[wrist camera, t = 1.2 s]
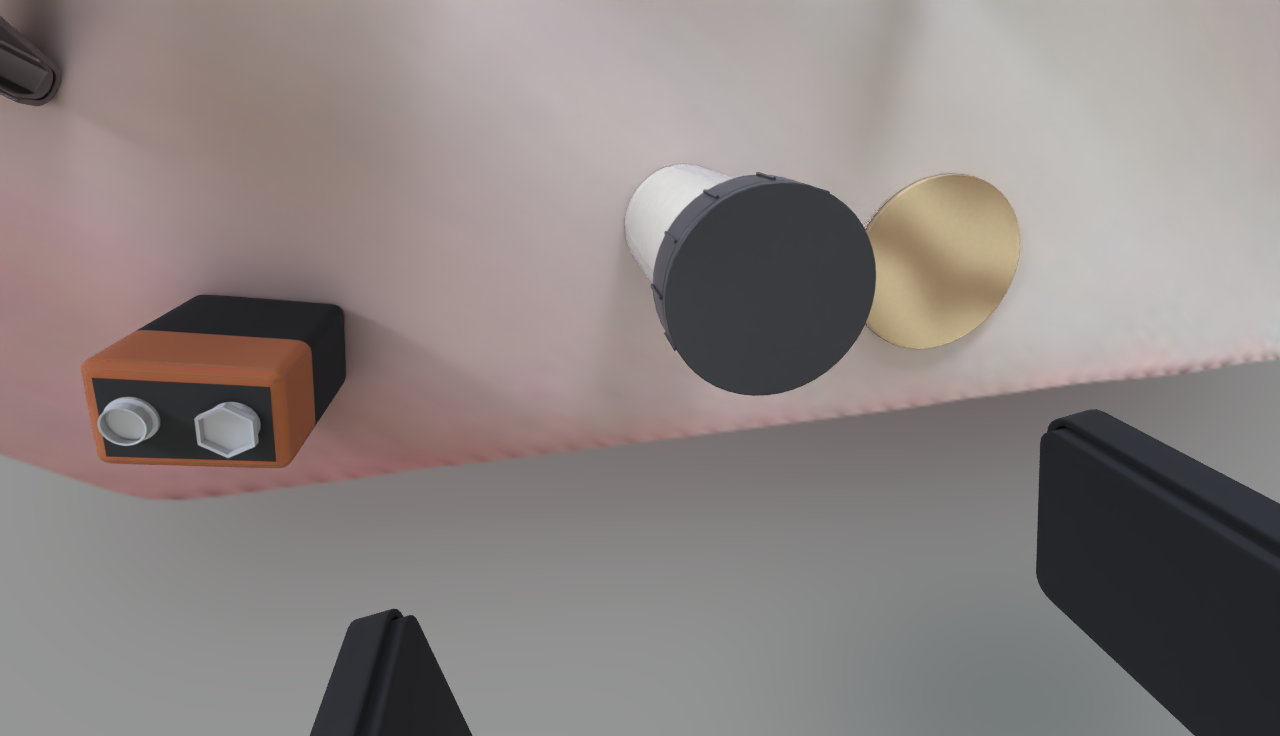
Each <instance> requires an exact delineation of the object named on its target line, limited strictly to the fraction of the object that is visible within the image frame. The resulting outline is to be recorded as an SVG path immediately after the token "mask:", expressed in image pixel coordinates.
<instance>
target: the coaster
mask: <svg viewBox="0 0 1280 736" xmlns="http://www.w3.org/2000/svg"><path fill="white" fill-rule="evenodd" d="M866 233H867V234H868V237H869V239H870V242H871V245H872V248H873V252H874V257H875V263H876V288H875V294H874V299H873V304H872V307H871V310H870V313H869V316H868V319H867V321H866V324H867V325H868V327H869V328H870V329H871V330H872V331H873V332H874V333H876V334H877V335H878V336H880V337H881V338H883V339H884V340H886V341H888V342H890V343H892V344H894V345H897V346H901V347H904V348H912V349H926V348H933V347H938V346H942V345H945V344H948V343H950V342H953V341H955V340H957V339H959V338H961V337H963V336H965V335H966V334H968V333H969V332H971V331H972V330H974V329H975V328H976V327H977V326H979V325H980V324H981V323H982V322H983V321H984V320H985V319H986V318H987V317H988V316H989V315H990V314H991V313H992V312H993V311H994V309H995V308H996V307H997V306H998V304H999V303H1000V302H1001V300H1002V298H1003V297H1004V295H1005V294H1006V292H1007V290H1008V288H1009V286H1010V284H1011V282H1012V279H1013V277H1014V274H1015V271H1016V267H1017V264H1018V258H1019V252H1020V234H1019V227H1018V222H1017V218H1016V216H1015V213H1014V211H1013V208H1012V207H1011V205H1010V203H1009V202H1008V200H1007V199H1006V198H1005V197H1004V195H1003V194H1002V193H1001V192H1000V191H999V190H998V189H996V188H995V187H994V186H993V185H991V184H989V183H988V182H986V181H984V180H981V179H979V178H976V177H972V176H967V175H962V174H944V175H937V176H933V177H929V178H926V179H923V180H921V181H918V182H916V183H914V184H912V185H910V186H909V187H907V188H905V189H903V190H902V191H901V192H899V193H898V194H896V195H895V196H894V197H893V198H892V199H890V200H889V201H888V202H887V203H886V204H885V205H884V206H883V207H882V208H881V209H880V211H879V212H878V213H877V214H876V215H875V217H874V218H873V219H872V221H871V222H870V224H869V225H868V227H867V229H866Z"/></svg>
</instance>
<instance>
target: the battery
mask: <svg viewBox="0 0 1280 736" xmlns="http://www.w3.org/2000/svg"><path fill="white" fill-rule="evenodd" d="M81 372H82V378H83V383H84V388H85V393H86V398H87V403H88V408H89V414H90V419H91V424H92V429H93V434H94V439H95V444H96V449H97V454H98V457H99V458H100V459H101V460H102V461H104V462H108V463H118V464H148V465H183V466H217V467H252V468H283V467H285V466H287V465H288V464H290V463H291V461H292V460H293V459H294V457H295V456H296V454H297V453H298V451H299V450H300V448H301V446H302V445H303V443H304V442H305V440H306V439H307V437H308V436H309V434H310V433H311V431H312V430H313V428H314V427H315V425H316V424H317V422H318V421H319V419H320V418H321V416H322V415H323V413H324V412H325V410H326V408H327V407H328V405H329V404H330V402H331V401H332V399H333V398H334V396H335V395H336V393H337V392H338V390H339V389H340V387H341V386H342V384H343V383H344V381H345V378H346V371H345V342H344V316H343V311H342V309H341V308H340V307H338V306H336V305H331V304H320V303H307V302H294V301H281V300H268V299H255V298H242V297H229V296H215V295H198V296H196V297H194V298H192V299H190V300H189V301H187V302H185V303H183V304H182V305H180V306H178V307H176V308H175V309H173V310H171V311H170V312H168V313H166V314H164V315H163V316H161V317H159V318H158V319H156V320H154V321H152V322H151V323H149V324H147V325H145V326H144V327H142V328H140V329H139V330H137V331H135V332H133V333H132V334H130V335H128V336H127V337H125V338H123V339H121V340H120V341H118V342H116V343H115V344H113V345H111V346H109V347H108V348H106V349H104V350H102V351H101V352H99V353H97V354H96V355H94V356H92V357H90V358H89V359H87V360H86V361H85V362H84V363H83V364H82V366H81Z"/></svg>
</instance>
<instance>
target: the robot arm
mask: <svg viewBox="0 0 1280 736" xmlns="http://www.w3.org/2000/svg"><path fill="white" fill-rule="evenodd" d="M1038 501H1039V503H1038V531H1037V562H1036V574H1037V579H1038V582H1039V585H1040V587H1041V589H1042V590H1043V592H1044V593H1045V595H1046V596H1047V597H1048V598H1049V599H1050V600H1051V601H1052V602H1053V603H1054V604H1055V605H1056V606H1057V607H1058V608H1059V609H1060V610H1062V612H1064V613H1065V614H1066V615H1067V616H1068V617H1069V618H1070V619H1071V620H1072V621H1073V622H1074V623H1075V624H1077V626H1079V627H1080V628H1081V629H1082V630H1083V631H1084V632H1085V633H1086V634H1087V635H1088V636H1089V637H1090V638H1091V639H1093V641H1094V642H1096V643H1097V644H1098V645H1099V646H1100V647H1101V648H1102V649H1103V650H1104V651H1105V652H1106V653H1107V654H1108V655H1109V656H1110V657H1112V658H1113V659H1114V660H1115V661H1116V662H1117V663H1118V664H1119V665H1120V666H1121V667H1122V668H1123V669H1124V670H1125V671H1127V673H1129V674H1130V675H1131V676H1132V677H1133V678H1134V679H1135V680H1136V681H1137V682H1138V683H1139V684H1140V685H1141V686H1142V687H1143V688H1144V689H1146V690H1147V691H1148V692H1149V693H1150V694H1151V695H1152V696H1153V697H1154V698H1155V699H1156V700H1157V701H1158V702H1159V703H1160V704H1162V705H1163V706H1164V707H1165V708H1166V709H1167V710H1168V711H1169V712H1170V713H1171V714H1172V715H1173V716H1174V717H1175V718H1176V719H1178V720H1179V721H1180V722H1181V723H1182V724H1183V725H1184V726H1185V727H1186V728H1187V729H1188V730H1189V731H1190V732H1191V733H1192V734H1193V735H1195V736H1280V504H1279V503H1277V502H1275V501H1273V500H1271V499H1269V498H1268V497H1266V496H1264V495H1262V494H1260V493H1258V492H1256V491H1254V490H1252V489H1250V488H1249V487H1246V486H1245V485H1243V484H1241V483H1239V482H1237V481H1235V480H1233V479H1231V478H1229V477H1227V476H1225V475H1224V474H1222V473H1220V472H1218V471H1216V470H1214V469H1212V468H1210V467H1208V466H1206V465H1204V464H1203V463H1201V462H1199V461H1196V460H1195V459H1193V458H1191V457H1189V456H1187V455H1185V454H1183V453H1181V452H1179V451H1178V450H1176V449H1174V448H1172V447H1170V446H1168V445H1166V444H1164V443H1162V442H1160V441H1159V440H1156V439H1155V438H1153V437H1151V436H1149V435H1147V434H1145V433H1143V432H1141V431H1139V430H1137V429H1136V428H1134V427H1132V426H1130V425H1128V424H1126V423H1124V422H1122V421H1120V420H1118V419H1116V418H1114V417H1113V416H1111V415H1109V414H1107V413H1105V412H1102V411H1100V410H1097V409H1096V410H1087V411H1083V412H1080V413H1076V414H1073V415H1069V416H1066V417H1063V418H1059V419H1056V420H1054V421H1052V422H1051V424H1050V425H1049V427H1048V431H1047V433H1045V434H1044V435H1043V436H1042V438H1041V443H1040V470H1039V500H1038ZM310 736H472V734H471V732H470V730H469V728H468V726H467V723H466V721H465V719H464V717H463V715H462V713H461V711H460V709H459V707H458V705H457V702H456V700H455V698H454V696H453V694H452V692H451V690H450V688H449V686H448V683H447V681H446V679H445V677H444V675H443V673H442V671H441V669H440V667H439V665H438V663H437V660H436V658H435V656H434V654H433V652H432V650H431V648H430V646H429V644H428V641H427V639H426V637H425V635H424V633H423V631H422V629H421V627H420V625H419V623H418V621H417V619H416V618H415V617H414V616H413V615H409V616H406V617H403V615H402V614H401V612H399V610H397V609H391V610H387V611H384V612H381V613H377V614H374V615H370V616H366V617H363V618H359V619H356V620H354V621H353V622H351V624H350V626H349V627H348V630H347V633H346V636H345V638H344V641H343V644H342V647H341V650H340V652H339V655H338V658H337V661H336V664H335V666H334V669H333V672H332V675H331V677H330V680H329V683H328V686H327V689H326V692H325V694H324V697H323V700H322V703H321V706H320V708H319V711H318V714H317V717H316V720H315V722H314V725H313V728H312V731H311V734H310Z"/></svg>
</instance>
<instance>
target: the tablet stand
mask: <svg viewBox="0 0 1280 736" xmlns="http://www.w3.org/2000/svg"><path fill="white" fill-rule="evenodd" d="M60 78H61V76H60V70H59V68H58V66H57V65H56V64H55V63H54V62H52V61H51V60H50V59H49V58H48V57H47V56H46V55H44V54H43V53H42V52H41V51H40V50H39V49H38V48H36V47H35V46H34V45H33V44H32V43H31V42H30V41H28V40H27V39H26V38H25V37H24V36H23V35H21V34H20V33H19V32H18V31H17V30H16V29H15V28H13V27H12V26H11V25H10V24H9V23H8V22H7V21H5V20H4V19H3V18H2V17H1V16H0V94H1V95H3V96H5V97H7V98H9V99H11V100H13V101H15V102H18V103H23V104H27V105H32V106H41V105H44V104H45V103H47V102H48V101H49V100H50V99H51V98H52V97H53V96H54V95H55V93H56V92H57V90H58V87H59V84H60Z"/></svg>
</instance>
